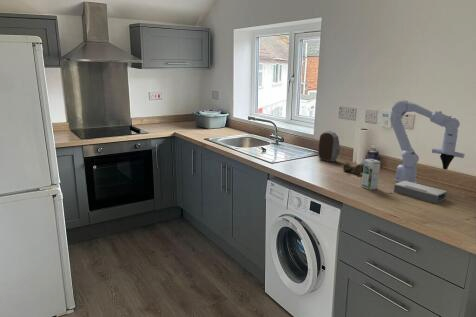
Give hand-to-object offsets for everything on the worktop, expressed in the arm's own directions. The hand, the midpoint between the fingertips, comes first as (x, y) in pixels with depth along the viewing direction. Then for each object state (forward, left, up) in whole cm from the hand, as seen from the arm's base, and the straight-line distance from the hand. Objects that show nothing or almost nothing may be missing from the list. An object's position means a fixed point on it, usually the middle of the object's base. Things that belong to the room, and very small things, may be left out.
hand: (445, 169), depth 183 cm
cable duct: (-2, -21, -10) cm, 24 cm away
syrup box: (-23, -30, -11) cm, 39 cm away
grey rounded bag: (-72, +1, -11) cm, 73 cm away
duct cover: (-2, -21, -7) cm, 22 cm away
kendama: (-45, -9, -11) cm, 47 cm away
